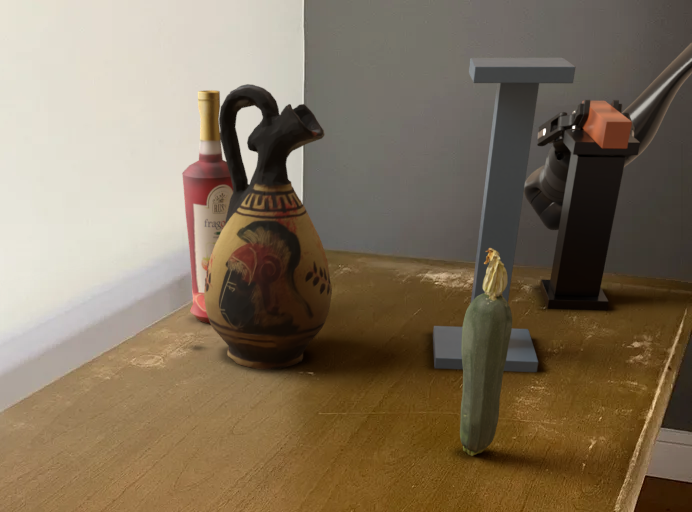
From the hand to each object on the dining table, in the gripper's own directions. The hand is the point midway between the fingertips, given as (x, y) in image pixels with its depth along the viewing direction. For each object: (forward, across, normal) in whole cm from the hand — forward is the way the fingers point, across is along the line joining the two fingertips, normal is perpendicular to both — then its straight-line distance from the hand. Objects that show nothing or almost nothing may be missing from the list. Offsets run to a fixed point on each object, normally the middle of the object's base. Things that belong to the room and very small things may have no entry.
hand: (601, 107), depth 127 cm
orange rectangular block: (+2, 0, -4) cm, 5 cm away
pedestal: (-9, 0, -23) cm, 25 cm away
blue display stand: (+12, +14, -35) cm, 39 cm away
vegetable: (+38, +17, -50) cm, 65 cm away
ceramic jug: (+14, +41, -37) cm, 57 cm away
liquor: (+3, +50, -30) cm, 58 cm away
